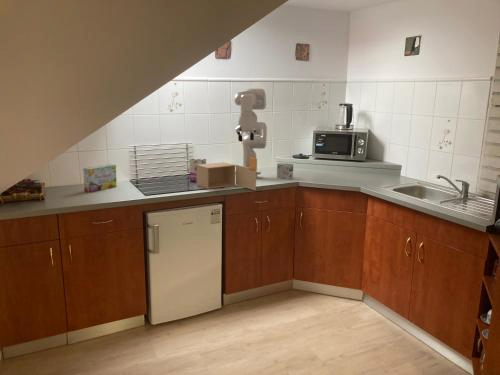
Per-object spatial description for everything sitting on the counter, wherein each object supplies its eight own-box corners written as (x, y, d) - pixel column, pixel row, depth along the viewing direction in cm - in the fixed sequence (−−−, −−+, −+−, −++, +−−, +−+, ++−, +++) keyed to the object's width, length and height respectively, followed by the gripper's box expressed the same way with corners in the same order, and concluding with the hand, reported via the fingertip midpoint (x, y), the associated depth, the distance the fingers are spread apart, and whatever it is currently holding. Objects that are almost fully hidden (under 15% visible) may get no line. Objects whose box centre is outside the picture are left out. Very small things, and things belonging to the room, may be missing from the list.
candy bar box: (206, 181, 298) (206, 158, 295) (202, 183, 294) (202, 159, 290) (193, 180, 303) (193, 157, 300) (189, 181, 299) (189, 158, 295)
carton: (223, 181, 300) (223, 162, 297) (235, 185, 289) (235, 164, 286) (196, 185, 287) (196, 164, 283) (207, 188, 276) (207, 167, 273)
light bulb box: (293, 178, 316) (293, 164, 314) (289, 179, 311) (289, 165, 309) (280, 176, 322) (281, 162, 320) (276, 177, 317) (276, 163, 314)
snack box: (90, 193, 260) (88, 168, 257) (84, 191, 263) (82, 167, 260) (117, 187, 277) (116, 164, 274) (111, 185, 280) (110, 163, 277)
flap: (235, 184, 289) (235, 154, 284) (237, 184, 290) (237, 154, 285) (254, 190, 272) (255, 158, 268) (256, 190, 273) (257, 158, 268)
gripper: (253, 113, 281) (252, 139, 285) (232, 114, 270) (232, 141, 275) (260, 114, 275) (259, 140, 280) (239, 115, 265) (239, 142, 269)
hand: (246, 140), depth 277 cm, fingers open, 9 cm apart
